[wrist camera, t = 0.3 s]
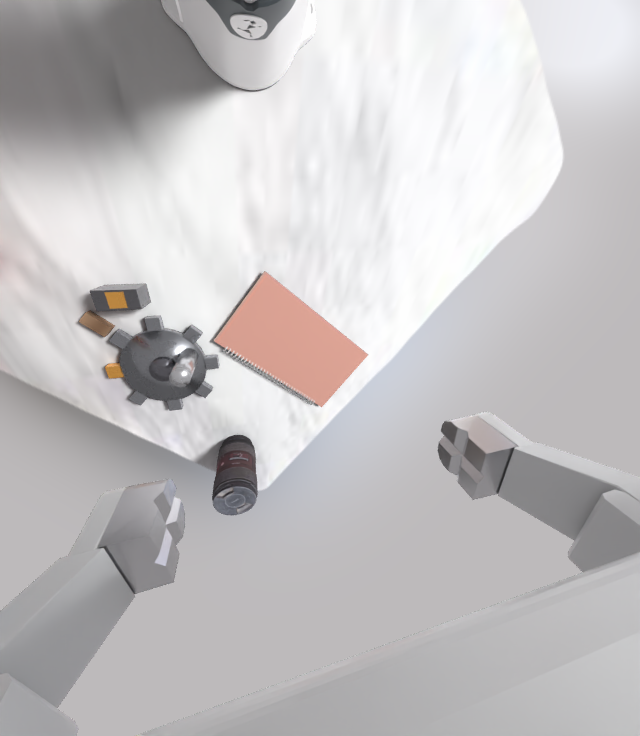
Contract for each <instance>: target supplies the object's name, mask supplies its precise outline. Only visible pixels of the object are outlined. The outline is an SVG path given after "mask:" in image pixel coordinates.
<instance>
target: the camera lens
mask: <svg viewBox="0 0 640 736" xmlns="http://www.w3.org/2000/svg"><path fill="white" fill-rule="evenodd" d="M256 498H257V476H256V457H255V450H254V446H253V445H252V442H251V440H250V439H249V438H247V437H246V436H243V435H234V436H231V437H229V438H227V439H226V440H225V441H224V442H223V444H222V446H221V448H220V450H219V454H218V460H217V472H216V477H215V481H214V487H213V496H212V500H213V506H214V508H215V509H216V510H217V511H218V512H219V513H221V514H225V515H237V514H242V513H244V512H246V511H248V510H250V509H251V508H252V507H253V506H254V504H255V503H256Z"/></svg>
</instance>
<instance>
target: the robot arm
mask: <svg viewBox="0 0 640 736" xmlns="http://www.w3.org/2000/svg"><path fill="white" fill-rule="evenodd" d="M161 2H162V6H163V8H164V10H165V12H166V13H167V14H168V15H169V17H170V18H171V19H172V20H173V21H174V22H175V23H176V24H178V25H179V26H180V27H181V28H182V29H183V30H184V31H185V32H186V33H187V34H188V36H189V37H190V39H191V40H192V42H193V43H194V45H195V47H196V48H197V50H198V52H199V53H200V55H201V56H202V58H203V59H204V61H205V62H206V63H207V64H208V66H209V67H210V68H211V69H212V70H213V71H214V72H215V73H216V74H217V75H218V76H220V77H221V78H222V79H224V80H225V81H227V82H228V83H230V84H232V85H234V86H236V87H239V88H242V89H247V90H260V89H264V88H267V87H269V86H271V85H273V84H275V83H276V82H277V81H279V80H280V79H281V78H282V77H283V76H284V74H285V73H286V72H287V70H288V69H289V67H290V65H291V63H292V61H293V59H294V57H295V55H296V53H297V51H298V50H299V49H300V48H301V47H302V46H304V45H305V44H306V43H307V42H308V41H309V40H310V39H311V38H312V37H313V35H314V33H315V29H316V15H315V8H314V0H161ZM441 432H442V434H443V435H444V436H443V438H442V439H441V440H440V441H439V445H438V453H439V458H440V460H441V462H442V464H443V465H444V467H445V468H446V469H447V470H448V471H449V472H451V473H453V474H455V475H457V480H458V483H459V484H460V485H461V487H462V488H463V489H464V490H465V491H466V492H467V494H468V495H469V496H470V497H471V498H472V499H473V500H474V499H478V498H483V497H487V496H491V495H495V494H498V496H500V497H502V498H503V499H505V500H507V501H509V502H510V503H512V504H513V505H515V506H517V507H518V508H520V509H522V510H523V511H525V512H527V513H529V514H530V515H532V516H534V517H535V518H537V519H539V520H540V521H542V522H544V523H546V524H547V525H549V526H551V527H552V528H554V529H556V530H558V531H559V532H561V533H563V534H564V535H566V536H568V537H569V538H571V539H573V540H574V543H573V544H572V546H571V548H570V549H569V551H568V557H569V559H570V560H571V561H572V562H573V563H574V564H575V565H576V566H577V567H578V568H579V569H580V570H581V571H582V572H583V573H580V574H577V575H575V576H572V577H569V578H566V579H564V580H561V581H558V582H556V583H553V584H550V585H547V586H544V587H542V588H539V589H536V590H533V591H531V592H528V593H525V594H523V595H520V596H517V597H514V598H512V599H509V600H506V601H503V602H501V603H498V604H495V605H493V606H490V607H487V608H484V609H481V610H479V611H476V612H473V613H470V614H468V615H465V616H462V617H459V618H457V619H454V620H452V621H449V622H446V623H443V624H440V625H437V626H435V627H432V628H429V629H427V630H424V631H421V632H418V633H416V634H413V635H410V636H407V637H405V638H402V639H399V640H397V641H394V642H391V643H388V644H385V645H383V646H380V647H377V648H374V649H372V650H369V651H366V652H364V653H361V654H358V655H356V656H352V657H350V658H347V659H344V660H341V661H339V662H336V663H333V664H331V665H328V666H325V667H322V668H320V669H317V670H314V671H312V672H309V673H306V674H303V675H300V676H298V677H295V678H292V679H290V680H287V681H284V682H281V683H278V684H276V685H273V686H270V687H267V688H265V689H262V690H259V691H257V692H254V693H251V694H248V695H246V696H243V697H240V698H237V699H235V700H232V701H229V702H226V703H224V704H221V705H218V706H215V707H213V708H210V709H207V710H205V711H202V712H199V713H196V714H194V715H191V716H188V717H185V718H183V719H180V720H177V721H175V722H172V723H169V724H167V725H163V726H161V727H158V728H155V729H153V730H150V731H147V732H144V733H141V734H139V735H136V736H640V477H639V476H636V475H633V474H630V473H627V472H624V471H621V470H618V469H614V468H612V467H609V466H606V465H603V464H600V463H597V462H594V461H591V460H588V459H585V458H582V457H579V456H577V455H574V454H571V453H568V452H565V451H562V450H559V449H555V448H553V447H550V446H547V445H544V444H541V443H538V442H537V443H532V442H531V441H530V440H528V439H527V438H525V437H524V436H522V435H521V434H520V433H519V432H517V431H516V430H514V429H513V428H512V427H510V426H509V425H508V424H506V423H505V422H503V421H502V420H501V419H499V418H498V417H497V416H495V415H494V414H492V413H489V412H483V413H479V414H475V415H472V416H466V417H462V418H457V419H452V420H448V421H445V422H444V423H443V425H442V428H441ZM175 492H176V486H175V484H174V482H173V480H172V479H166V480H160V481H155V482H150V483H144V484H138V485H133V486H129V487H125V488H119V489H114V490H108V491H106V492H105V493H103V494H102V495H101V496H100V498H99V500H98V501H97V504H96V505H95V507H94V509H93V511H92V512H91V514H90V516H89V518H88V520H87V522H86V523H85V525H84V527H83V529H82V531H81V533H80V534H79V536H78V538H77V540H76V542H75V544H74V545H73V547H72V549H71V551H70V553H69V555H68V556H66V557H63V558H60V559H58V560H57V561H56V562H55V563H54V564H53V565H52V566H50V567H49V568H48V569H47V570H46V571H45V572H44V573H42V574H41V575H40V576H39V577H38V578H37V579H36V580H35V581H33V582H32V583H31V584H30V585H29V586H28V587H27V588H25V589H24V590H23V591H22V592H21V593H20V594H19V595H18V596H17V597H15V598H14V599H13V600H12V601H11V602H10V603H9V604H8V605H6V606H5V607H4V608H3V609H2V610H1V611H0V736H76V734H77V732H78V727H77V725H76V722H75V721H74V720H73V719H71V718H70V717H68V716H67V715H66V714H64V713H63V712H61V711H60V710H58V709H57V708H58V707H59V705H60V704H61V702H62V701H63V699H64V698H65V696H66V695H67V694H68V692H69V691H70V689H71V688H72V686H73V685H74V684H75V682H76V681H77V679H78V678H79V676H80V675H81V673H82V672H83V671H84V669H85V668H86V666H87V665H88V663H89V662H90V661H91V659H92V658H93V656H94V655H95V653H96V652H97V650H98V649H99V647H100V646H101V645H102V643H103V642H104V640H105V639H106V637H107V636H108V635H109V633H110V632H111V630H112V629H113V628H114V626H115V625H116V623H117V621H118V620H119V619H120V617H121V616H122V615H123V613H124V612H125V610H126V609H127V607H128V606H129V605H130V603H131V602H132V600H133V599H134V597H135V595H134V594H137V593H140V592H143V591H147V590H150V589H153V588H156V587H160V586H163V585H166V584H170V583H173V582H174V578H175V573H176V568H177V564H178V559H179V552H178V550H177V548H176V545H177V543H178V542H179V541H180V540H181V539H182V537H183V533H184V528H185V512H184V506H183V504H182V501H181V499H178V498H176V497H175Z"/></svg>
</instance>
